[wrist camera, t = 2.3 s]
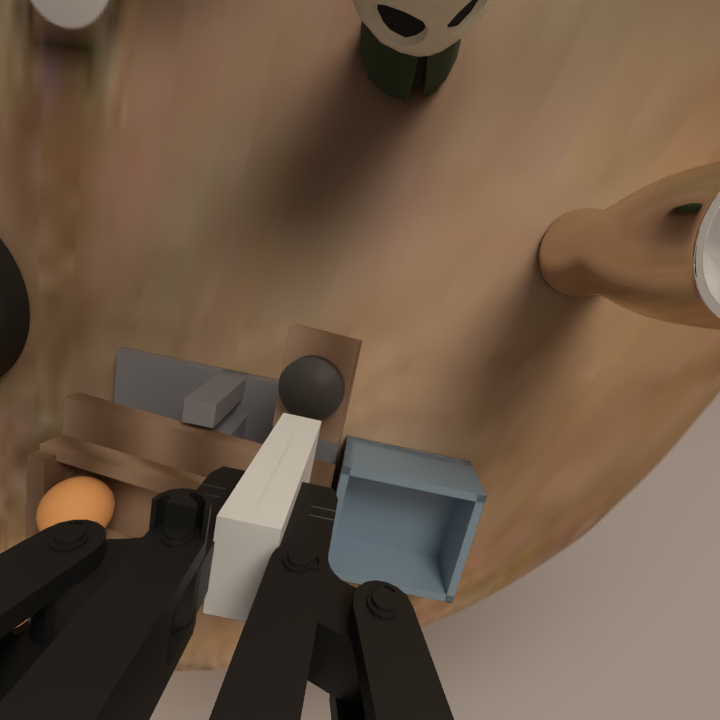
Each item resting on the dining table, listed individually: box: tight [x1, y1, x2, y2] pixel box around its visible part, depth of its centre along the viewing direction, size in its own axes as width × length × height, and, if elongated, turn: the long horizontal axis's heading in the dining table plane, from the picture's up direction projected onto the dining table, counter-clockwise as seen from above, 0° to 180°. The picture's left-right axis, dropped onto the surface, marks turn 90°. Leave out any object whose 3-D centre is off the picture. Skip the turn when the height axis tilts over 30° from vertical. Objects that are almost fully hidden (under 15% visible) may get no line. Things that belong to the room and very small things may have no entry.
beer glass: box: [539, 161, 720, 330], centre depth 22 cm, size 7×7×15 cm
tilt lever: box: [26, 324, 362, 603], centre depth 26 cm, size 18×20×6 cm
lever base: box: [114, 348, 341, 465], centre depth 30 cm, size 18×16×7 cm
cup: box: [328, 436, 487, 603], centre depth 31 cm, size 10×9×5 cm
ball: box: [36, 476, 115, 531], centre depth 25 cm, size 4×4×4 cm
